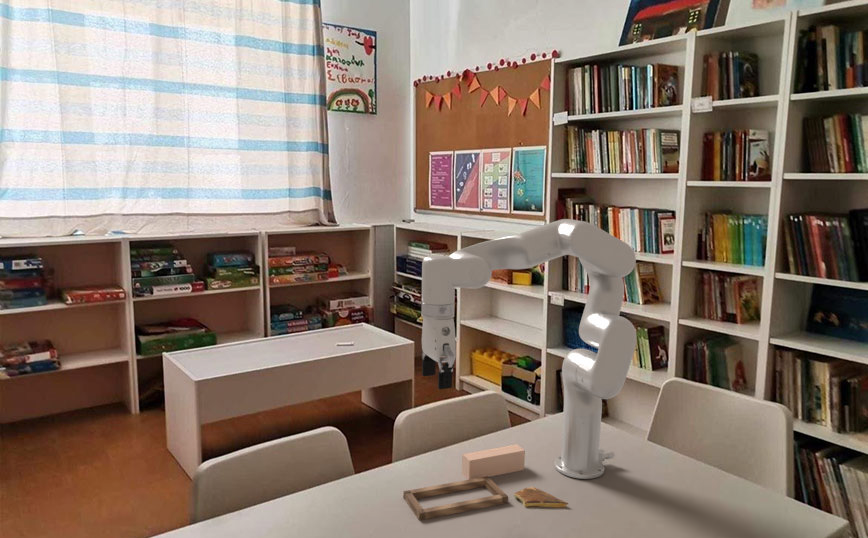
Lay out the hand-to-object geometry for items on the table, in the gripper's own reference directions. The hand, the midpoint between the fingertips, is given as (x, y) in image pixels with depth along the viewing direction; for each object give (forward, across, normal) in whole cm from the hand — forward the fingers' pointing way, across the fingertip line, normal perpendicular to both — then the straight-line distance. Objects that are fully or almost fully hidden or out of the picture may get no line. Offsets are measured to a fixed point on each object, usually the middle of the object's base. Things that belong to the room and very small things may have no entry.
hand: (436, 381), depth 149 cm
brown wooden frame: (+27, -5, -3) cm, 28 cm away
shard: (+28, -12, -22) cm, 38 cm away
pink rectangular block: (+28, +4, -18) cm, 33 cm away
